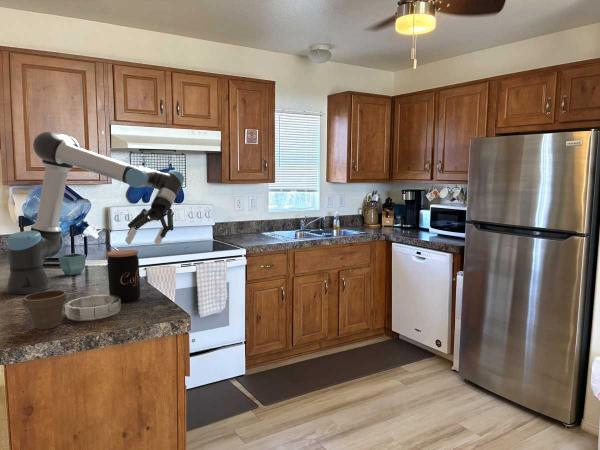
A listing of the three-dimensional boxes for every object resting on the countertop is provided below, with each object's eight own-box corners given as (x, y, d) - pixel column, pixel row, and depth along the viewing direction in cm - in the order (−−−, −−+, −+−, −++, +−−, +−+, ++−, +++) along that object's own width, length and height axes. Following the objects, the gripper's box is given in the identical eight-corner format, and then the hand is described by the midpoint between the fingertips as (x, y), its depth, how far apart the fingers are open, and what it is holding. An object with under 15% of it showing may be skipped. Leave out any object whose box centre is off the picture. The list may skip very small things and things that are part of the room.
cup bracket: (55, 318, 150) (54, 306, 150) (93, 304, 165) (92, 293, 165) (95, 322, 145) (94, 310, 144) (130, 308, 160) (130, 297, 159)
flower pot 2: (87, 273, 218) (86, 254, 217) (69, 277, 211) (68, 257, 210) (76, 271, 223) (75, 253, 222) (59, 274, 216) (57, 256, 215)
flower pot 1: (23, 335, 134) (20, 301, 133) (27, 324, 144) (25, 292, 143) (68, 329, 139) (65, 296, 138) (68, 318, 149) (66, 288, 148)
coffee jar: (122, 305, 163) (119, 255, 161) (103, 301, 169) (100, 253, 167) (146, 298, 172) (144, 250, 170) (128, 294, 178) (125, 248, 176)
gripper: (193, 207, 190) (173, 249, 177) (142, 207, 198) (120, 247, 186) (185, 195, 184) (164, 238, 172) (133, 195, 193) (110, 236, 180)
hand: (141, 243), depth 179 cm, fingers open, 13 cm apart
